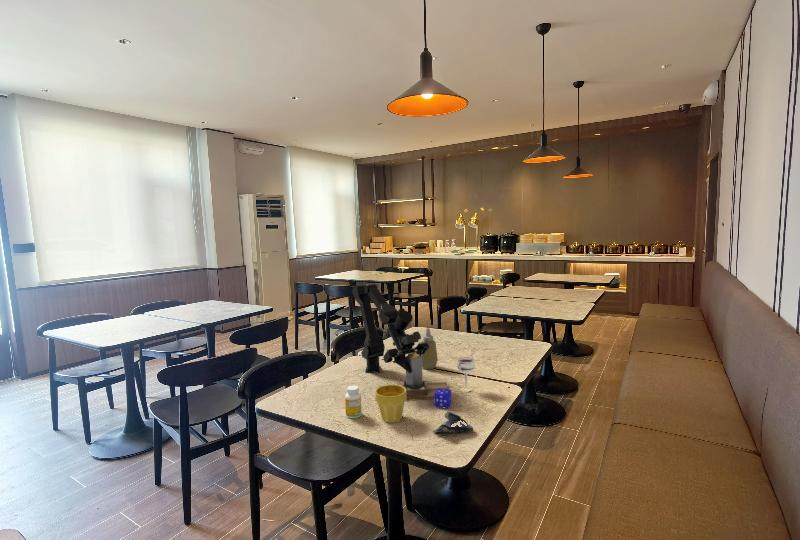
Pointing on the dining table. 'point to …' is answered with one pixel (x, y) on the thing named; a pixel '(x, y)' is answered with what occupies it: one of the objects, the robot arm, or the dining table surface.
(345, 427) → the dining table surface
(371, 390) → the dining table surface
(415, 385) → the grey faceted pillar
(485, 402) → the dining table surface
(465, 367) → the wineglass
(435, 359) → the squeeze bottle
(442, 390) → the die
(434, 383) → the chassis board
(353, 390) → the supplement bottle
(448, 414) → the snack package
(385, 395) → the plant pot
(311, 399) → the dining table surface
